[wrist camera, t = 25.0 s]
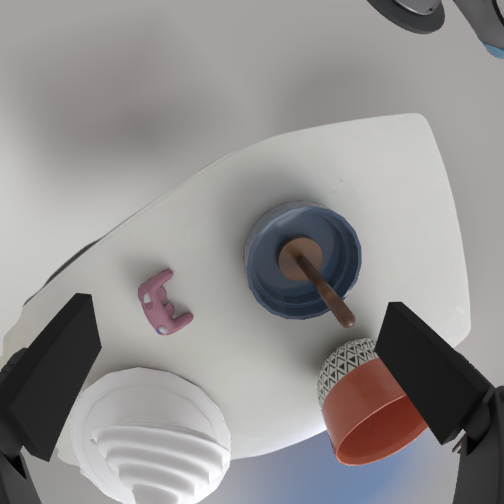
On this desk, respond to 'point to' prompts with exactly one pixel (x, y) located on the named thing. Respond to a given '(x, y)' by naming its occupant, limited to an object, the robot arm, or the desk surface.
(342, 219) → the bowl
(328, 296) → the masher
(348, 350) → the planter
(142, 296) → the video game controller
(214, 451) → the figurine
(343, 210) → the desk surface
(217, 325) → the desk surface
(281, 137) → the desk surface
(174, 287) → the desk surface
